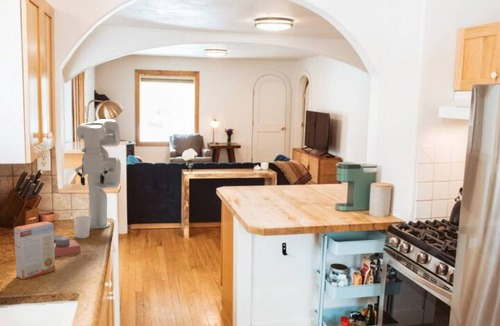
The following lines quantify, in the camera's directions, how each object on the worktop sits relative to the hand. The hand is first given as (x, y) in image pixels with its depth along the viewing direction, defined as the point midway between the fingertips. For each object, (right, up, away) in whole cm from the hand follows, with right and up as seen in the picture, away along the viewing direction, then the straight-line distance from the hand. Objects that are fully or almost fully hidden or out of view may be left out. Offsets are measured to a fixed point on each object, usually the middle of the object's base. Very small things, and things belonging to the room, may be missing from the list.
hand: (92, 184), depth 245 cm
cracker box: (-8, -35, -48) cm, 60 cm away
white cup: (-7, -28, +5) cm, 29 cm away
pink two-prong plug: (-10, -31, -17) cm, 37 cm away
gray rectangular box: (-13, -30, -13) cm, 35 cm away
